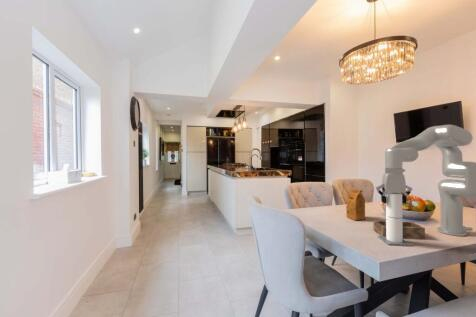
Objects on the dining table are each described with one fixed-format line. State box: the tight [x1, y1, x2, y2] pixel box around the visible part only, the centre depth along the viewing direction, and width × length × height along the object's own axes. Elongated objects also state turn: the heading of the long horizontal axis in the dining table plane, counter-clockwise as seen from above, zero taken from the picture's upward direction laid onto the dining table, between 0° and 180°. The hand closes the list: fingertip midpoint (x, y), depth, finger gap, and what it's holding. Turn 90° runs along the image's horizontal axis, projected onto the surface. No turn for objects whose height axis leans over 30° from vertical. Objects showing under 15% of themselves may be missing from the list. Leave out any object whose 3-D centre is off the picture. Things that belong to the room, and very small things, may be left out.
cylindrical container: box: [385, 193, 404, 242], centre depth 116 cm, size 7×7×25 cm
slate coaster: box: [377, 235, 413, 247], centre depth 116 cm, size 11×11×1 cm
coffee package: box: [345, 187, 366, 221], centre depth 159 cm, size 10×12×22 cm
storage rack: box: [372, 220, 426, 240], centre depth 126 cm, size 21×11×6 cm, turn 81°
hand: (393, 203), depth 116 cm, fingers open, 9 cm apart
